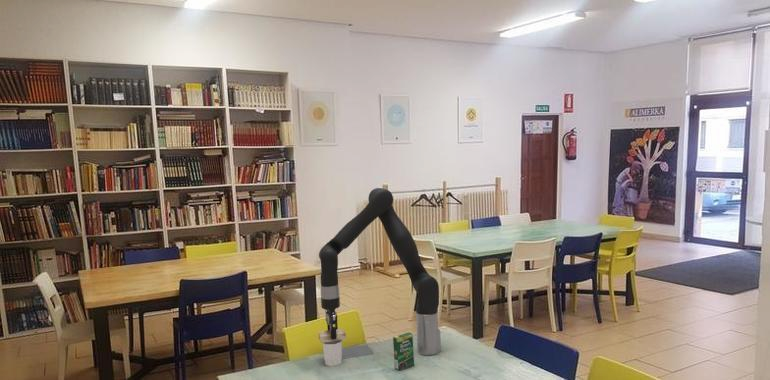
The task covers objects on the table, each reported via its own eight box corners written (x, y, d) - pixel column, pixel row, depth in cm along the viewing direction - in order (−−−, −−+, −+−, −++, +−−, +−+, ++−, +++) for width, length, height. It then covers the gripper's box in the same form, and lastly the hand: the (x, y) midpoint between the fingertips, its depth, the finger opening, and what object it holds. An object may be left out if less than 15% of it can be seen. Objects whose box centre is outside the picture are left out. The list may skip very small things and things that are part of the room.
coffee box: (398, 371, 190) (396, 338, 190) (394, 368, 193) (392, 336, 192) (414, 366, 194) (413, 333, 194) (410, 363, 197) (409, 331, 196)
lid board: (342, 334, 203) (342, 328, 203) (345, 339, 197) (345, 333, 197) (318, 337, 200) (318, 331, 200) (321, 343, 194) (321, 336, 194)
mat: (367, 346, 218) (367, 344, 218) (374, 356, 206) (374, 353, 206) (336, 351, 214) (336, 349, 214) (342, 361, 202) (341, 359, 202)
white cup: (339, 369, 194) (338, 344, 194) (321, 368, 196) (319, 344, 196) (345, 361, 202) (344, 337, 202) (327, 360, 204) (326, 337, 203)
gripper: (342, 299, 192) (344, 340, 193) (335, 290, 206) (337, 329, 206) (324, 301, 190) (326, 343, 191) (318, 292, 203) (320, 331, 204)
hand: (332, 335), depth 199 cm, fingers open, 6 cm apart
